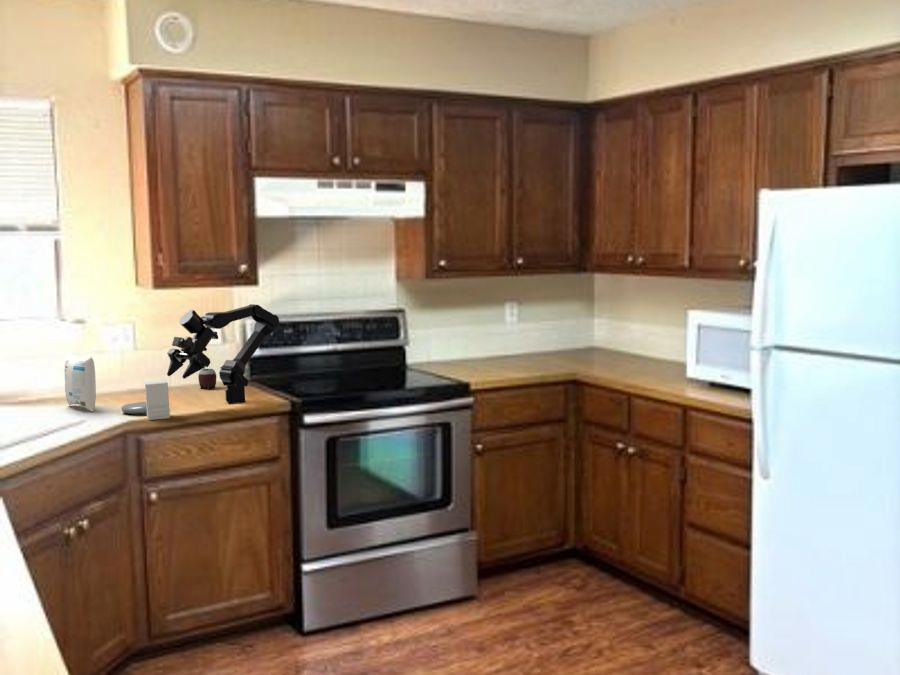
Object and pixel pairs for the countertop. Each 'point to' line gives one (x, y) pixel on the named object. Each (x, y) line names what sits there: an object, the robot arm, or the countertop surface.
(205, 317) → the robot arm
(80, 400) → the pouch
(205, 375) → the mate gourd
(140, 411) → the dish
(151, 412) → the supplement box
